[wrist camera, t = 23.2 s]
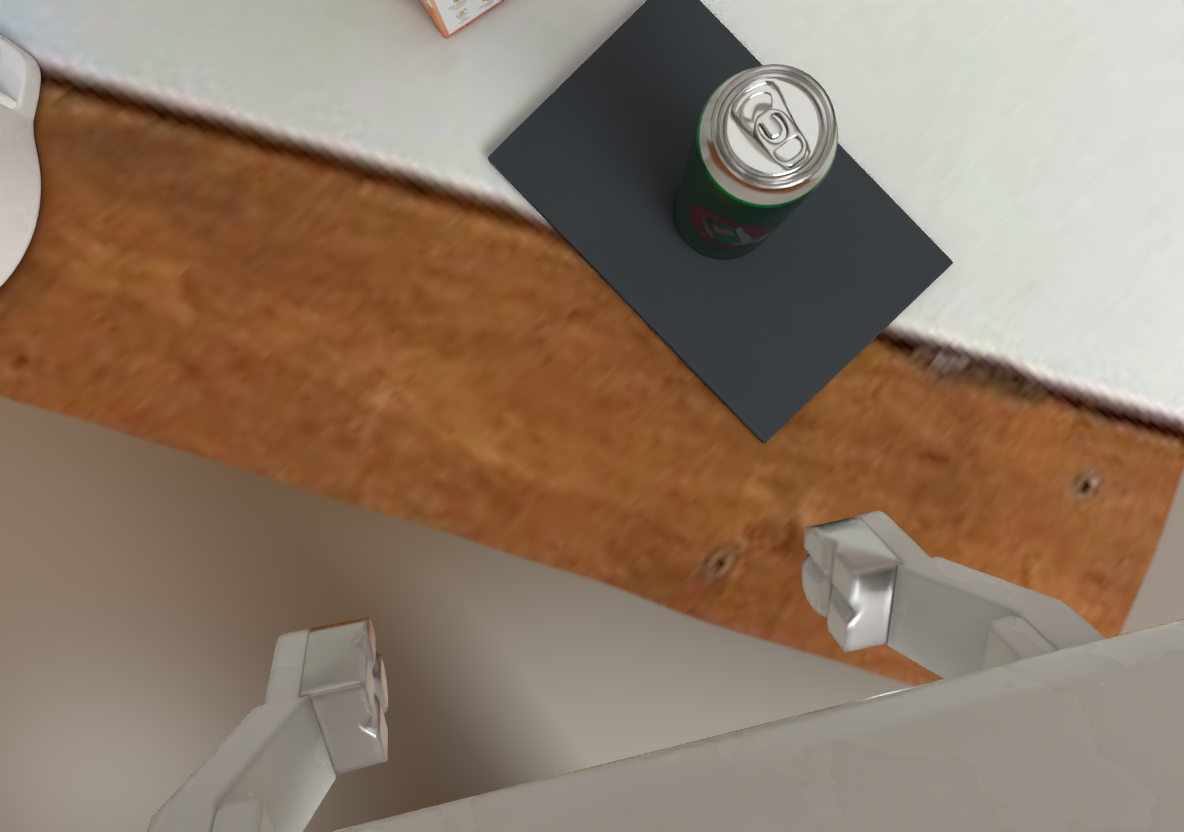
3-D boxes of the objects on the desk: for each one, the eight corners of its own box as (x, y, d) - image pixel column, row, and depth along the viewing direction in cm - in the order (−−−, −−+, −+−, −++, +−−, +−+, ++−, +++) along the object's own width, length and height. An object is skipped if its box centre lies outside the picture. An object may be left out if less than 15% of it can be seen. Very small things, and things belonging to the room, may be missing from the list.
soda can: (732, 139, 39) (788, 22, 27) (793, 221, 39) (877, 140, 27) (651, 201, 39) (671, 112, 27) (711, 282, 39) (758, 229, 27)
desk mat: (489, 160, 40) (487, 157, 39) (673, -21, 39) (674, -27, 39) (762, 443, 40) (764, 443, 39) (948, 264, 39) (954, 262, 39)
